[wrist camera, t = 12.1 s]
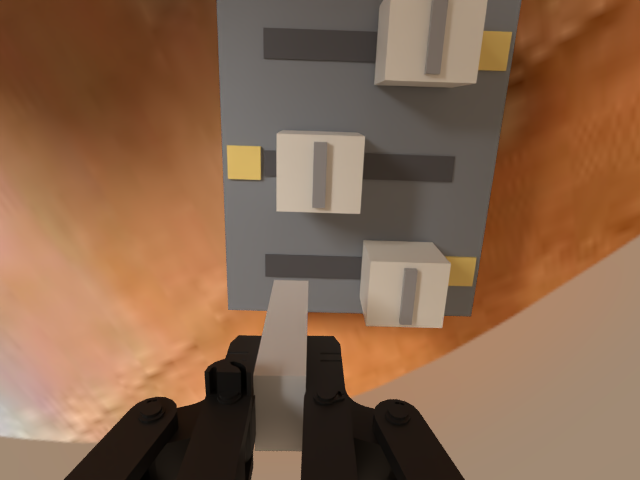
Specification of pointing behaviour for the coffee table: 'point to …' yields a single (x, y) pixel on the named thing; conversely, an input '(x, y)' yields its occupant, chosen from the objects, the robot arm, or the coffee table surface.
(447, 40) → the slider
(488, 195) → the switch unit
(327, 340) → the robot arm
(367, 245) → the slider
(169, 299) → the coffee table surface
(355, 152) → the slider
